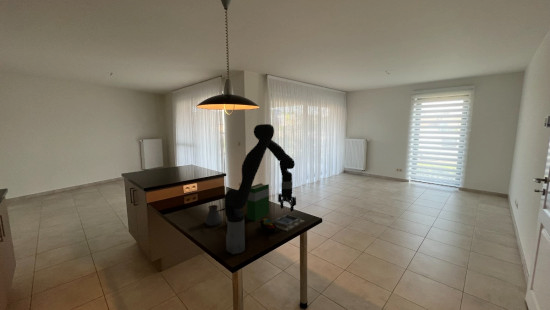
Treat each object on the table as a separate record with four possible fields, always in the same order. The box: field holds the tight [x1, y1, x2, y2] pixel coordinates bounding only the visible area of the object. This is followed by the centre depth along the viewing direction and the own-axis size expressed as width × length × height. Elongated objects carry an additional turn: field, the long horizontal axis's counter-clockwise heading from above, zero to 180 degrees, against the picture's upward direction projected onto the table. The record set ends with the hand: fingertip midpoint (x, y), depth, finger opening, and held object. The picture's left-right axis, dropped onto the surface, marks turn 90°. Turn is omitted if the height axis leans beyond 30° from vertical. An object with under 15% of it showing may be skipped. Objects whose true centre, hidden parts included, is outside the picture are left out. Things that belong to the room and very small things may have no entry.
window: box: [272, 214, 305, 232], centre depth 153 cm, size 20×16×3 cm
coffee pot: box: [204, 204, 225, 227], centre depth 148 cm, size 21×12×15 cm, turn 56°
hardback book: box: [246, 183, 270, 222], centre depth 164 cm, size 18×7×24 cm, turn 147°
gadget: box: [259, 218, 277, 233], centre depth 142 cm, size 6×13×6 cm, turn 32°
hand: (286, 209), depth 152 cm, fingers open, 8 cm apart
